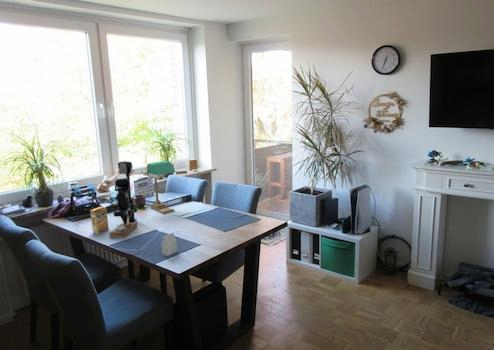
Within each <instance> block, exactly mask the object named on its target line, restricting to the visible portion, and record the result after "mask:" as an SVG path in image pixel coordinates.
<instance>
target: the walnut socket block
mask: <svg viewBox="0 0 494 350" xmlns="http://www.w3.org/2000/svg"><path fill="white" fill-rule="evenodd" d="M137 223H138V222H132V223H129V226H124V222H121V224H122V225H123V231H118V228H117V226H116V227H115V228H114V229H113V230H111V231H110V232H109V237H110V238H109V239H113V238H115V239H117V238H118V239H119V238H121V239H122V238H124V239H125V238H126V237H128V236H129V235H130V234H131V233H133V231H135V230H136V229H137V227H138V225H137Z"/></svg>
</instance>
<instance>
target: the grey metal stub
mask: <svg viewBox="0 0 494 350" xmlns="http://www.w3.org/2000/svg"><path fill="white" fill-rule="evenodd" d="M116 227H117V228H118V231H123V225H122V223H119V224H117V225H116Z"/></svg>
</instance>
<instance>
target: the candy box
mask: <svg viewBox="0 0 494 350" xmlns="http://www.w3.org/2000/svg"><path fill="white" fill-rule="evenodd" d="M89 212H90V219H91V229H92V233H94V234H100V233H102V232H105V231H107V230H109V227H110V226H109V221H108V212H107V207H106V206H104V205H103V206H101V205H100V206H98V207H95V208H92V209H90V211H89Z"/></svg>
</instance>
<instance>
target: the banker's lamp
mask: <svg viewBox="0 0 494 350" xmlns="http://www.w3.org/2000/svg"><path fill="white" fill-rule="evenodd" d="M146 173H147V174H146V176H147V177H148V178H151V179H152V178H154V182H153V183H154V193H155V200H154V202H153V203H152V204H151V206H150V209H151V210H153V211H155V212H158V213H161V214H163V215H164V214H170V213H173V212H175V208H171V207H169V206H167V205H166V204H165V203H162V201H161V200H160V199H159V193H158V192H159V191H158V178H160V177H163V176H166V175H167V174H174V173H176V170H175V168H174V165H173V164H172V162H171V161H169V160H161V161H154V162H148V163H147V164H146ZM149 174H150V175H149ZM151 175H154V176H151ZM155 176H156V177H155Z"/></svg>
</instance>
